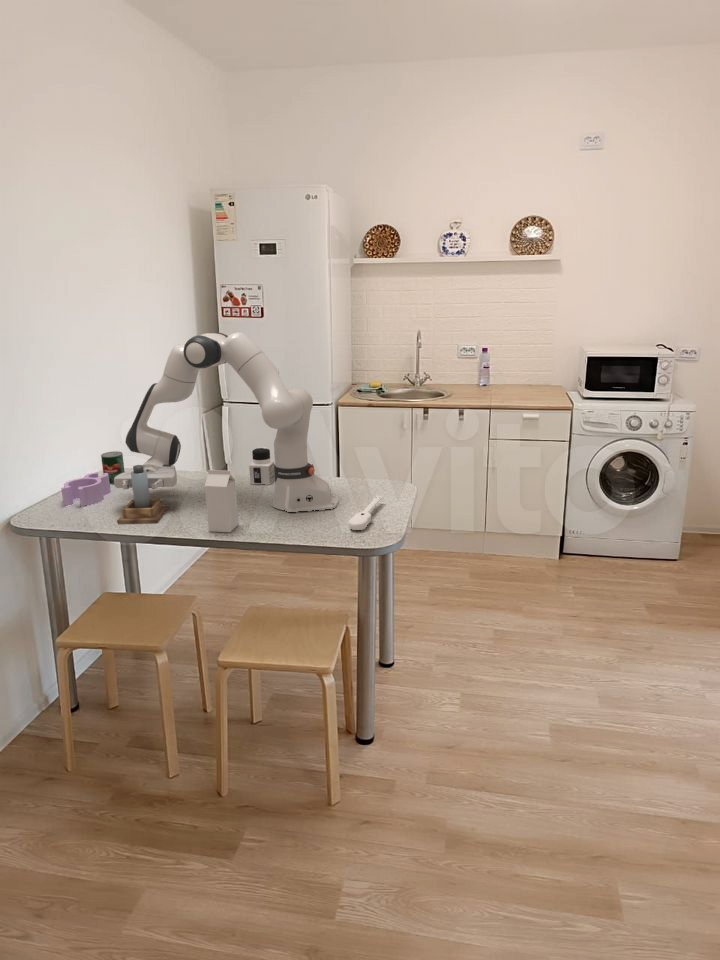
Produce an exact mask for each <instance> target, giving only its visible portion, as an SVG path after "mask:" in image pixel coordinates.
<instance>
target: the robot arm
mask: <svg viewBox="0 0 720 960" xmlns="http://www.w3.org/2000/svg"><path fill="white" fill-rule="evenodd" d="M263 351H264V350H262V349H261V347H260V346H259V345H257V344H256V342H254V341H253V340H252V339H251V338H250V337H248V335H247V334H245V333H243V332H240V331H237V332H233V333H231V334H229V335H227V334H225V333H221V332H214V333H213V332H212V333H211V332H209V333H208V332H206V333H202V334H198V335H194V336H192V337H190V338H189V339H188V340H187V341H186V342H185V344H184V343H181V344H177V345H174V346H173V347H172V349H171V350H170V353H169V355H168V358H167V360H166V363H165V366H164V368H163V369H164V370H163V374H162V376H161V378H160V380H159V381H158V382H154V383H153V384H151V385H150V387H149V388H148V389H147V391H146V393H145V395H144V398H143V400H142V402H141V405H140V407H139V409H138V411H137V413H136V415H135V418H134V420H133V423H132V424H131V427H130V428H129V429H128V430H127V433H126V436H125V441H124V442H125V443H124V444H125V445H126V446H127V448H128V449H129V450H130V452H131V453H137V454H142V455H146V456H149V458H148V459H147V460H146V462H144V463H143V464H142V465H143V469H144V470H145V471H147V478H148V487H149V489H152V490H157V489H158V488H172V487H175V486H176V485H177V481H178V478H177V470H176V466H175V465H176V463H177V461H178V459H179V457H180V453H181V449H182V447H181V445H182V444H181V442H180V439H179V437H178V436H177V435H176V434H173V433H170V432H167V431H162V430H159V429H156V428H153V427H151V426H148V422H149V420H150V416H151V414H152V412H153V410H154V408H155V406H156V405H159V404H165V403H166V404H167V403H178V402H183V401H185V400H187V399H189V397H190V396H192V394H193V392H194V389H195V386H196V383H197V378H198V376H199V371H200V369H207V368H215V367H218V366H220V365H224V364H226V363H227V364H228V365H230V366H231V368H233V370H234V371H235V372H236V373H237V375H238V376H239V377H240V379H242V381H243V382H244V383H245V384H246V386H247V387H248V388H249V389H250V390H251V392H252V393H253V395H254V396H255V399H256V401H257V402H258V405H259V407H260V409H261V415H262V420H263V422H264V423H265V424H266V425H267V426H268V427H270V428H271V429H275V430H276V434H275V439H274V441H273V453H274V479H275V480H274V482H275V485H274V495H273V497H274V498H273V501H272V507H274V508H275V509H277V510H282V511H284V510H285V512H286V511H287V512H286V513H288V512H296V513H299V512H298V511H308V512H316V511H315V510H319V511H326V510H325V509H331V510H334V509H335V508H336V506H338V505H339V498H338V496H337V495H335V494H332V490H331V489H332V488H331V487H330V485H329V483H328V482H327V481H326V480H324V479H323V478H321V477H319V476H318V475H316V474H315V466H314V464H313V463H312V464H311V463H309V462H308V435H309V427H310V420H311V419H310V418H311V411H312V408H313V405H314V402H313V398H312V396H311V394H310V393H309V392H308V391H307V390H306V389H302V388H299V387H298V388H297V387H295V388H289V389H287V388H286V387H285V385H284V383H283V382H282V380H281V376H280V371H279V370H278V368H277V366H275V365H274V363H273V362H272V361H271V360H270V358H269V357H268V356H267V355H266V354H265V352H263ZM131 472H132V471H128V472H126V471H125V473H121V474H119V475H117V476H116V477H115V478H114V484H113V485H114V487H115V488H116V489H123V490H129V489H133V487H132V479H131ZM333 508H334V509H333ZM312 510H314V511H312Z"/></svg>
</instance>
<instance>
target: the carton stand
mask: <svg viewBox="0 0 720 960" xmlns="http://www.w3.org/2000/svg"><path fill="white" fill-rule="evenodd" d="M150 504H151V508H135V504H134V499H131V500H130V501H129V502H128V503H127V504H126V505H125V506H124V507H123V508H122V515H121V516H120V517H119V518H118V519H117V520H116V524H117V523H118V524H117V525H132V524H133V525H136V524H139V525H141V524H158V523H159V522H160V521H161V520H162V518H163V517H164V516H165V514H166V513H167V512H168V510H169V509H170V507H169V505H163V501H162V498H155V499H154V498H153V499H152V498H150ZM166 511H167V512H166ZM163 515H164V516H163Z"/></svg>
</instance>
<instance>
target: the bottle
mask: <svg viewBox="0 0 720 960" xmlns="http://www.w3.org/2000/svg"><path fill="white" fill-rule="evenodd" d="M132 470H133V471H130V472H131V479H132V487H133V488H132V494H133V495H132V496H133V500H134V504H135V508H151V504H150V499H151V497H150V488H149V487H148V478H147V471H145V470H144V469H143V464H137V465H133V466H132Z"/></svg>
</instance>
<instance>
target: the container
mask: <svg viewBox="0 0 720 960" xmlns="http://www.w3.org/2000/svg"><path fill="white" fill-rule="evenodd" d="M251 452H252V462H251V463H250V464H249V465H248V470H249V480H250V481H249V483H250V485H251V484H265V485H264V486H270V485H271V484H272V483H273V482H275V479H274V465H275V459H271V451H270V449H269V448H267V447H256V448H254V449H252V451H251Z"/></svg>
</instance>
